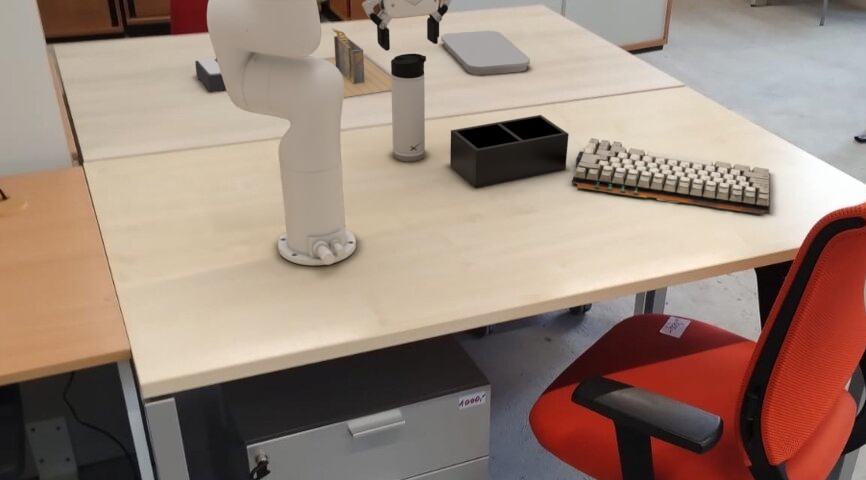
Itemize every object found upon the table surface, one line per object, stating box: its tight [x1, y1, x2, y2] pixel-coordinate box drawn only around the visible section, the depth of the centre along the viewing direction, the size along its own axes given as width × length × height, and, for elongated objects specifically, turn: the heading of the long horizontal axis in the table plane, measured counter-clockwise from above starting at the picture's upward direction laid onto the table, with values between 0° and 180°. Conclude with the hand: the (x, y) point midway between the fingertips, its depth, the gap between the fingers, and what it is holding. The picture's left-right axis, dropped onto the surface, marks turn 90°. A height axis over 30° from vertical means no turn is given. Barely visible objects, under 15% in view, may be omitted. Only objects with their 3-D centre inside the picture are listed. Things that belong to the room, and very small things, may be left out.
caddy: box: [449, 114, 569, 189], centre depth 182 cm, size 10×20×8 cm, turn 119°
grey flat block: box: [440, 30, 531, 76], centre depth 237 cm, size 16×26×2 cm, turn 21°
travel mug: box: [390, 53, 427, 163], centre depth 181 cm, size 6×7×20 cm
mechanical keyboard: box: [571, 137, 771, 215], centre depth 181 cm, size 38×19×3 cm, turn 77°
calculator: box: [194, 57, 227, 92], centre depth 216 cm, size 11×4×15 cm
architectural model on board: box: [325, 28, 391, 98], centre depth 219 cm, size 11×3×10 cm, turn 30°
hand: (408, 45), depth 174 cm, fingers open, 9 cm apart
